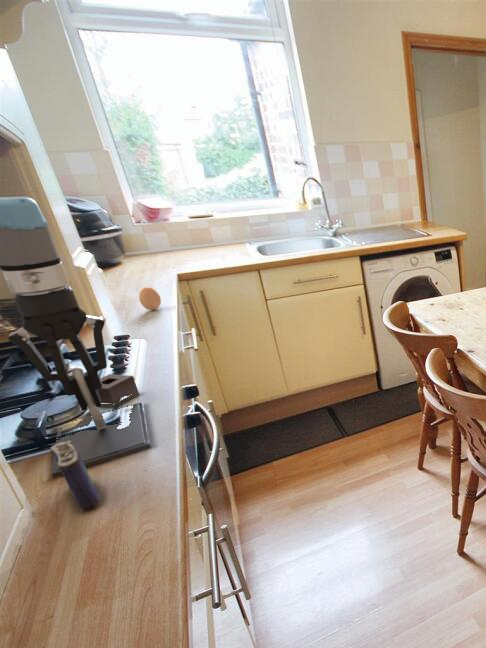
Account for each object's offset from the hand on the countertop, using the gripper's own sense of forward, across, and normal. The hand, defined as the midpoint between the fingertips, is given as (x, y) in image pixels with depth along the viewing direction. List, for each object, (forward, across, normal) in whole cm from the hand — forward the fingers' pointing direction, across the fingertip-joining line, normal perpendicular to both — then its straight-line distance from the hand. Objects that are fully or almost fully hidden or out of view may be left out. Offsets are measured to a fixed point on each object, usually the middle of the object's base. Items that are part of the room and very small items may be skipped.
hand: (91, 405), depth 91 cm
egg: (+7, +15, +86) cm, 88 cm away
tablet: (+7, 0, -1) cm, 7 cm away
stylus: (+6, 0, +1) cm, 6 cm away
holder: (+7, +2, +16) cm, 17 cm away
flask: (+7, -3, -21) cm, 22 cm away
